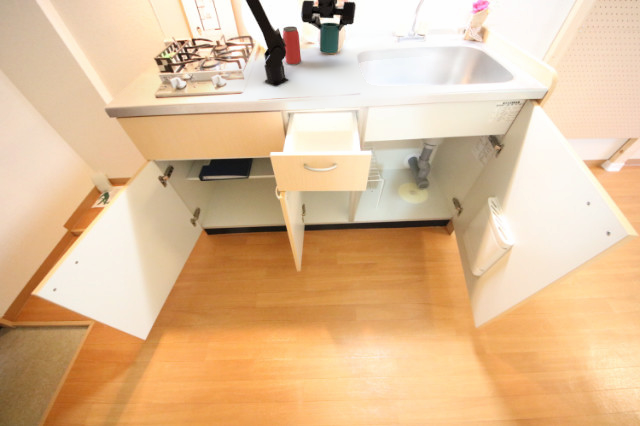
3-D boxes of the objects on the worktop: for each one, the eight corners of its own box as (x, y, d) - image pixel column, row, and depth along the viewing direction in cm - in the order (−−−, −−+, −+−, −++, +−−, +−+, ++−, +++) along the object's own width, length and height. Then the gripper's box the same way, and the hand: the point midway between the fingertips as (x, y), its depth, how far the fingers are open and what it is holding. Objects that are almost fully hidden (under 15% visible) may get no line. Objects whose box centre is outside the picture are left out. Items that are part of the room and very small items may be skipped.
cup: (349, 54, 108) (350, 27, 100) (323, 58, 105) (323, 32, 98) (337, 46, 115) (338, 20, 108) (314, 50, 112) (312, 24, 105)
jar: (341, 51, 96) (343, 25, 90) (327, 54, 93) (328, 27, 87) (330, 47, 100) (331, 21, 94) (316, 50, 97) (316, 23, 91)
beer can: (284, 60, 105) (279, 27, 96) (298, 58, 106) (295, 25, 97) (288, 66, 101) (284, 31, 92) (303, 63, 102) (300, 29, 93)
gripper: (358, -32, 75) (357, 8, 91) (301, -33, 78) (309, 6, 93) (353, 5, 76) (353, 38, 91) (296, 3, 78) (305, 36, 94)
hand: (330, 29), depth 92 cm, fingers closed on jar, 7 cm apart
